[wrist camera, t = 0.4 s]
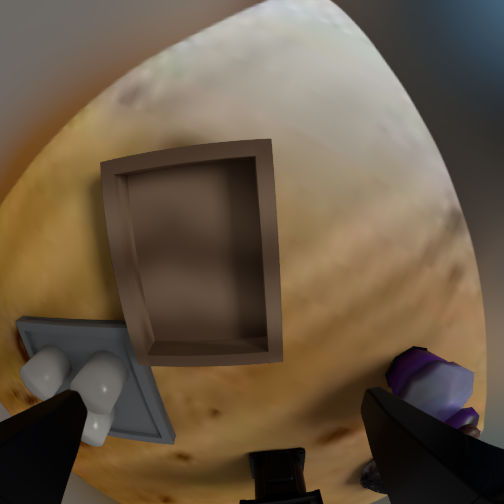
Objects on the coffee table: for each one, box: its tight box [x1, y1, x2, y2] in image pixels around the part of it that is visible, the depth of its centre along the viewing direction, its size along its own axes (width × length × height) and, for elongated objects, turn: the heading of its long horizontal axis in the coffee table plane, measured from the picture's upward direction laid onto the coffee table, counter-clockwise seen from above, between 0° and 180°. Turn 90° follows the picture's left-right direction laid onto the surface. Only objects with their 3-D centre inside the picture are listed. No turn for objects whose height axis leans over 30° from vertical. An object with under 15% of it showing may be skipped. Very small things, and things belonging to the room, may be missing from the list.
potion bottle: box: [385, 346, 480, 439], centre depth 17 cm, size 9×9×12 cm
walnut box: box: [100, 139, 283, 367], centre depth 19 cm, size 15×11×3 cm
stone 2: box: [70, 350, 129, 415], centre depth 19 cm, size 4×4×4 cm
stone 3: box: [81, 406, 117, 446], centre depth 21 cm, size 4×4×4 cm
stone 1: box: [20, 344, 72, 401], centre depth 19 cm, size 4×4×4 cm
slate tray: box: [16, 316, 176, 445], centre depth 22 cm, size 15×15×1 cm
